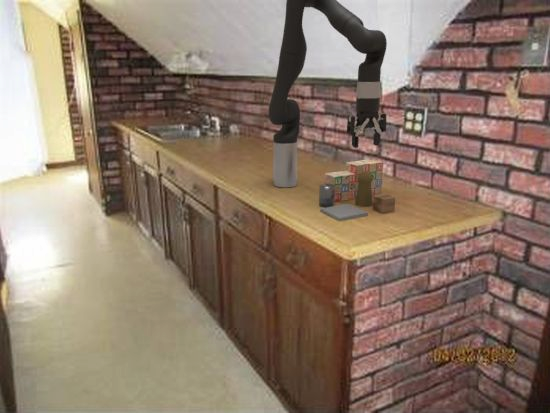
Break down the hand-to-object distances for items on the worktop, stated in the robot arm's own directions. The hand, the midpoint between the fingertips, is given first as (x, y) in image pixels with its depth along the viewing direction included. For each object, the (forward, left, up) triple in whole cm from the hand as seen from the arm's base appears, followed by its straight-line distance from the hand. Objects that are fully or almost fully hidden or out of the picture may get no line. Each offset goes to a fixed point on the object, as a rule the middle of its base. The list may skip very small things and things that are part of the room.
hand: (365, 146), depth 156 cm
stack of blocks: (-10, +3, -20) cm, 23 cm away
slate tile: (+5, -12, -20) cm, 24 cm away
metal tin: (-5, -12, -20) cm, 24 cm away
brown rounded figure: (0, 0, -20) cm, 20 cm away
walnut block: (+9, +1, -20) cm, 22 cm away
